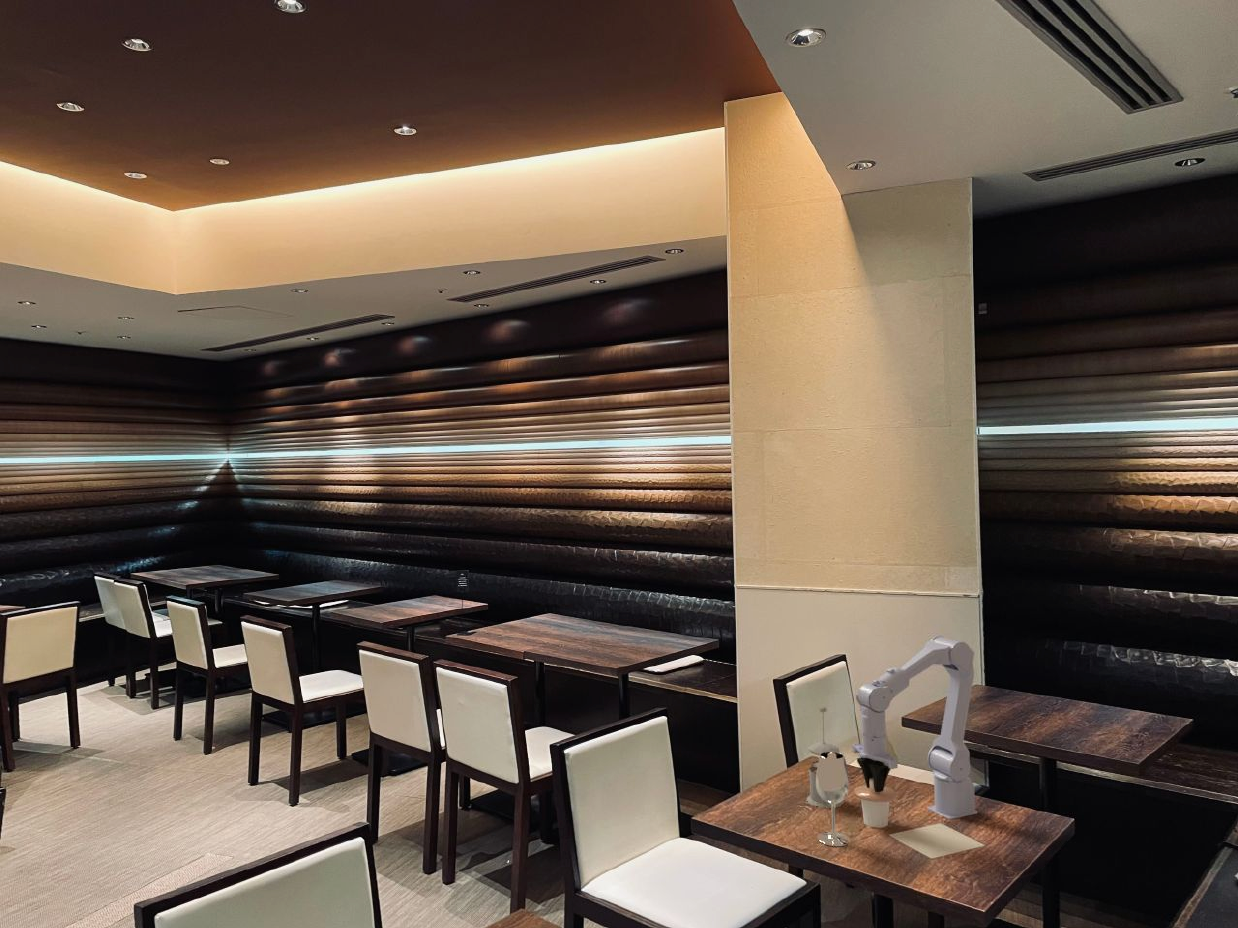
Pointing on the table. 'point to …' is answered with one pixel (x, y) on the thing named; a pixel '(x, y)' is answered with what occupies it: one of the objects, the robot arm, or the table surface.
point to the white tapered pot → (875, 813)
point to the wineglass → (832, 791)
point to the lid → (874, 793)
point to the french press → (817, 750)
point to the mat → (936, 840)
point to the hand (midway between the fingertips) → (875, 789)
